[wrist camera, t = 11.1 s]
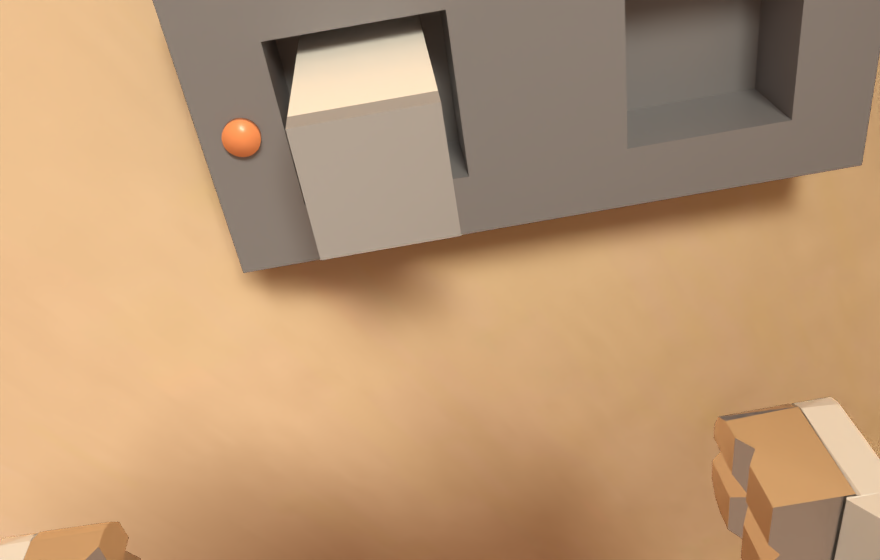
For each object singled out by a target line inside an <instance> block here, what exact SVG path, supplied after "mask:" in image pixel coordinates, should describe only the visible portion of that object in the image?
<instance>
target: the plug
mask: <svg viewBox="0 0 880 560" xmlns="http://www.w3.org/2000/svg"><path fill="white" fill-rule="evenodd" d="M285 129H286V133H287V137H288V141H289V144H290V148H291V152H292V156H293V159H294V163H295V167H296V170H297V174H298V178H299V182H300V185H301V189H302V193H303V196H304V200H305V204H306V208H307V211H308V215H309V219H310V223H311V226H312V230H313V234H314V237H315V241H316V245H317V249H318V252H319V256H320V260H326V259H331V258H337V257H343V256H349V255H354V254H360V253H366V252H372V251H377V250H383V249H389V248H395V247H400V246H406V245H412V244H417V243H423V242H429V241H435V240H440V239H446V238H452V237H458V236H461V231H460V224H459V218H458V211H457V204H456V198H455V191H454V185H453V178H452V171H451V165H450V158H449V152H448V145H447V138H446V132H445V125H444V119H443V112H442V105H441V100H440V96H439V92H438V89H437V85H436V81H435V77H434V73H433V69H432V66H431V62H430V58H429V54H428V50H427V46H426V43H425V39H424V35H423V31H422V27H421V23H420V20H419V16H418V15H412V16H406V17H401V18H395V19H389V20H383V21H378V22H372V23H366V24H360V25H355V26H349V27H343V28H338V29H332V30H326V31H320V32H315V33H309V34H303V35H300V36H299V43H298V50H297V56H296V63H295V69H294V76H293V82H292V89H291V95H290V102H289V109H288V115H287V122H286V128H285Z"/></svg>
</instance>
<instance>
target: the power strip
mask: <svg viewBox="0 0 880 560" xmlns="http://www.w3.org/2000/svg"><path fill="white" fill-rule="evenodd" d="M153 3H154V6H155V9H156V12H157V15H158V18H159V21H160V24H161V27H162V30H163V33H164V36H165V39H166V42H167V45H168V48H169V51H170V54H171V57H172V60H173V63H174V66H175V69H176V72H177V75H178V78H179V81H180V84H181V87H182V90H183V93H184V96H185V99H186V102H187V105H188V108H189V111H190V114H191V117H192V120H193V123H194V126H195V129H196V132H197V135H198V138H199V141H200V144H201V147H202V150H203V153H204V156H205V159H206V162H207V165H208V168H209V171H210V174H211V177H212V180H213V183H214V186H215V189H216V192H217V195H218V198H219V201H220V204H221V207H222V210H223V213H224V216H225V219H226V222H227V225H228V228H229V231H230V234H231V237H232V240H233V243H234V246H235V249H236V252H237V255H238V258H239V261H240V264H241V267H242V270H243V273H246V272H252V271H257V270H263V269H269V268H275V267H280V266H286V265H292V264H298V263H303V262H309V261H315V260H320V256H319V252H318V249H317V245H316V241H315V237H314V234H313V230H312V226H311V223H310V219H309V215H308V211H307V208H306V204H305V200H304V196H303V193H302V189H301V185H300V182H299V178H298V174H297V170H296V167H295V163H294V159H293V156H292V152H291V148H290V144H289V141H288V137H287V133H286V129H285V128H286V122H287V115H288V109H289V102H290V95H291V89H292V82H293V76H294V69H295V63H296V56H297V50H298V43H299V36H300V35H303V34H309V33H315V32H320V31H326V30H332V29H338V28H343V27H349V26H355V25H360V24H366V23H372V22H378V21H383V20H389V19H395V18H401V17H406V16H412V15H418V16H419V20H420V23H421V27H422V31H423V35H424V39H425V43H426V46H427V50H428V54H429V58H430V62H431V66H432V69H433V73H434V77H435V81H436V85H437V89H438V92H439V96H440V100H441V105H442V112H443V119H444V125H445V132H446V138H447V145H448V152H449V158H450V165H451V171H452V178H453V185H454V191H455V198H456V204H457V211H458V218H459V224H460V231H461V235H464V234H470V233H475V232H481V231H487V230H493V229H498V228H504V227H510V226H516V225H521V224H527V223H533V222H539V221H544V220H550V219H556V218H562V217H567V216H573V215H579V214H584V213H590V212H596V211H602V210H607V209H613V208H619V207H625V206H630V205H636V204H642V203H648V202H653V201H659V200H665V199H671V198H676V197H682V196H688V195H693V194H699V193H705V192H711V191H716V190H722V189H728V188H734V187H739V186H745V185H751V184H757V183H762V182H768V181H774V180H780V179H785V178H791V177H797V176H802V175H808V174H814V173H820V172H825V171H831V170H837V169H843V168H848V167H854V166H860V165H862V161H863V155H864V148H865V142H866V136H867V129H868V123H869V117H870V110H871V104H872V98H873V91H874V85H875V79H876V72H877V66H878V60H879V53H880V0H153Z"/></svg>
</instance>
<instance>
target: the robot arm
mask: <svg viewBox="0 0 880 560" xmlns="http://www.w3.org/2000/svg"><path fill="white" fill-rule="evenodd" d="M714 439H715V441H716V443H717V445H718V447H719V449H720V453H719V454H718V455H717V456H716V457H715V458H714V459H713V461H712V481H713V487H714V492H715V498H716V501H717V504H718V507H719V510H720V513H721V515H722V517H723V520H724V522H725V524H726V526H727V529H728V530H730V531H731V532H733V533H734V534H736V535H737V536H739V537H740V538H742V550H741V558H742V560H880V458H879V457H878V456H877V454H876V453H875V452H874V450H873V449H872V447H871V446H870V445H869V443H868V442H867V441H866V439H865V438H864V437H863V435H862V434H861V432H860V431H859V430H858V428H857V427H856V426H855V424H854V423H853V421H852V420H851V419H850V417H849V416H848V415H847V413H846V412H845V411H844V409H843V408H842V406H841V405H840V404H839V402H838V401H836V400H835V399H833V398H831V397H826V398H820V399H815V400H809V401H803V402H798V403H793V404H791V405H790V404H785V405H780V406H774V407H769V408H763V409H758V410H752V411H747V412H741V413H736V414H730V415H725V416H719V417H718V418H717V420H716V422H715V427H714ZM128 539H129V537H128V535H127V534H126V532H125V531H124V529H123V527H122V526H121V524H120V523H119V522H105V523H98V524H91V525H84V526H77V527H70V528H63V529H57V530H50V531H43V532H39V533H33V534H26V535H19V536H13V537H6V538H3V539H2V540H1V541H0V560H141V558H139V557H137V556H135V555H133V554H131V553H129V552H127V551H125V550H126V547H127V543H128Z"/></svg>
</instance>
